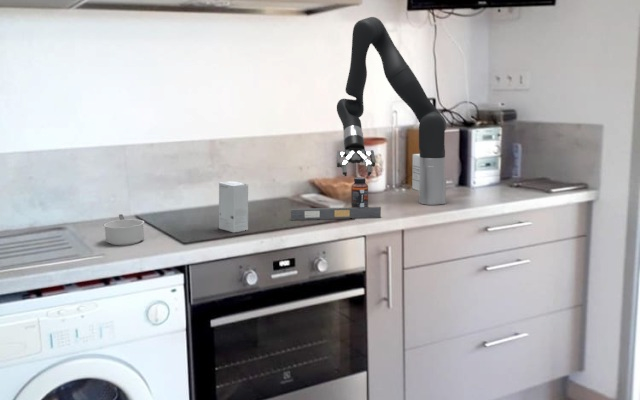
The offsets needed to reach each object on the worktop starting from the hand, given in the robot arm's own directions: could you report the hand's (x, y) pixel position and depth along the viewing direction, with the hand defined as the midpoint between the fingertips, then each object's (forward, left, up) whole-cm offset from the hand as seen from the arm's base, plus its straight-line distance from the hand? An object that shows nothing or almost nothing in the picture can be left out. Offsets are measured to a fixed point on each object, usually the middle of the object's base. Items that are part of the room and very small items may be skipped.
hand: (357, 174), depth 233 cm
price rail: (+10, +21, -12) cm, 26 cm away
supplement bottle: (0, +6, -12) cm, 13 cm away
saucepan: (+75, +41, -12) cm, 86 cm away
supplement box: (-33, -32, -12) cm, 48 cm away
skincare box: (+43, +33, -12) cm, 55 cm away
